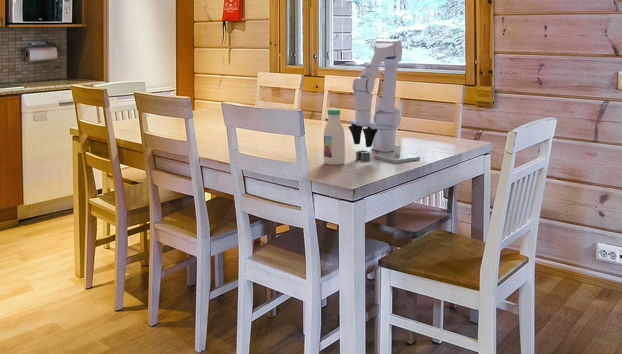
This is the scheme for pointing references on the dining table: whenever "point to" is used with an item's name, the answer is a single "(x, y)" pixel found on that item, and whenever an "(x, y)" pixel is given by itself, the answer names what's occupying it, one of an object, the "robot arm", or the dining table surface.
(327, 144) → the milk bottle
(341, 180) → the dining table surface
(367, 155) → the split ring
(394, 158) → the stand
